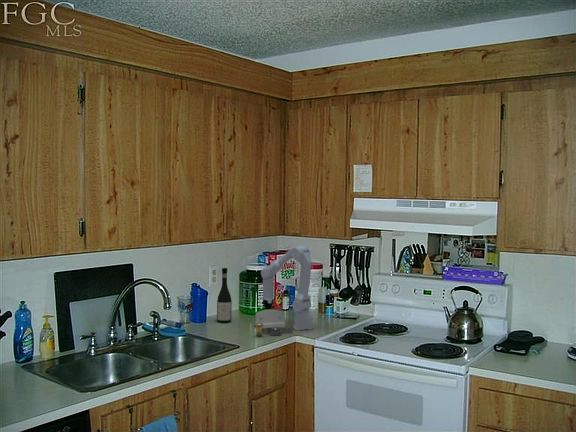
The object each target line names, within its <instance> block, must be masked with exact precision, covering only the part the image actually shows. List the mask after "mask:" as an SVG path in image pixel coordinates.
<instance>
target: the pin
mask: <svg viewBox="0 0 576 432" xmlns="http://www.w3.org/2000/svg"><path fill="white" fill-rule="evenodd" d="M262 326H263V323H256V324H255V323H254V327H255V330H256V331H255V337H257V338H261V337H263V334H262Z"/></svg>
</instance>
